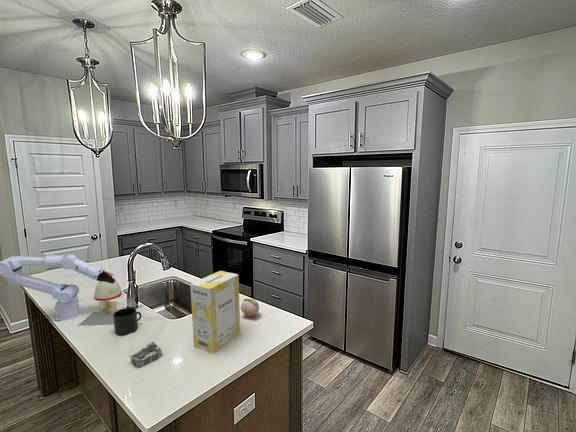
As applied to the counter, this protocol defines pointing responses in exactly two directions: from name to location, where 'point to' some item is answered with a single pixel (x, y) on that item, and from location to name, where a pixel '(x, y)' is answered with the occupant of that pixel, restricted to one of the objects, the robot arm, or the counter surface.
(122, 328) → the mug
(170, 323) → the counter surface
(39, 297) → the counter surface
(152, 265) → the counter surface
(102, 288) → the cream dome
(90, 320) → the picture frame
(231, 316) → the pasta box
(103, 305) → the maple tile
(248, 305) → the decorative fruit
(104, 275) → the robot arm
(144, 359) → the grey rough flat block
